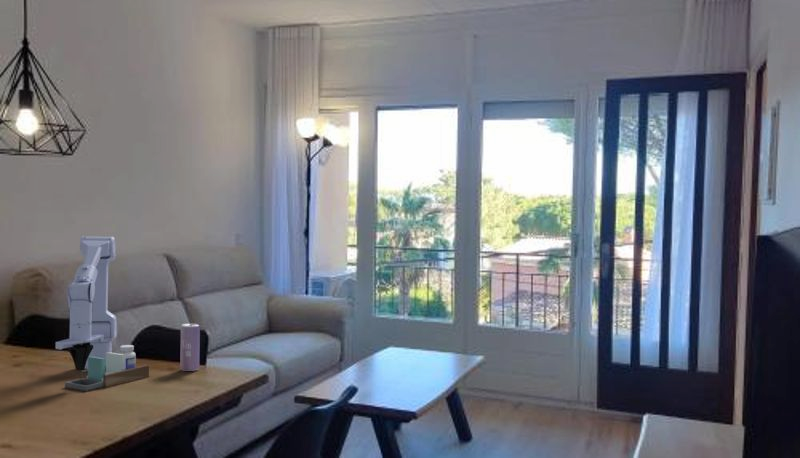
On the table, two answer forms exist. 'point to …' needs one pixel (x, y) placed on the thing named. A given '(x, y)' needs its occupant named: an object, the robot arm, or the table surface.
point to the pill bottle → (129, 355)
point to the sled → (113, 364)
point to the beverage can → (190, 347)
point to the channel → (122, 375)
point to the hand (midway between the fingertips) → (80, 369)
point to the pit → (84, 384)
